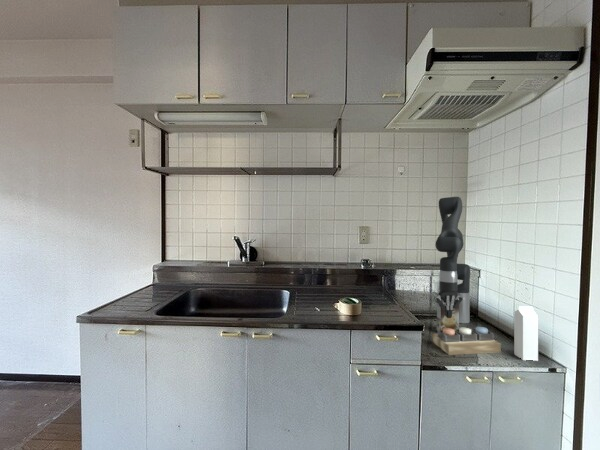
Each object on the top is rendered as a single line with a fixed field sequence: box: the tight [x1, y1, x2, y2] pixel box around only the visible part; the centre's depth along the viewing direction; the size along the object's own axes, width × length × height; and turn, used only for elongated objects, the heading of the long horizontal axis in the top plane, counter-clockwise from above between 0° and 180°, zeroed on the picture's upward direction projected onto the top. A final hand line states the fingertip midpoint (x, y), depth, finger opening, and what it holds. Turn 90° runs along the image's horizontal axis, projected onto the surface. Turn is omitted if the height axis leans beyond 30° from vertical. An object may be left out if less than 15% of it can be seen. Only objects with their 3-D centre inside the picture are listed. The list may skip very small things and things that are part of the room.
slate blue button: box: [474, 326, 489, 334], centre depth 140 cm, size 5×5×2 cm
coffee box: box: [436, 300, 460, 332], centre depth 158 cm, size 9×6×16 cm
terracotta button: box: [443, 328, 455, 335], centre depth 139 cm, size 5×5×2 cm
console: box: [432, 328, 502, 356], centre depth 140 cm, size 14×24×7 cm, turn 94°
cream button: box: [459, 326, 472, 335], centre depth 139 cm, size 5×5×2 cm
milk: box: [513, 305, 539, 362], centre depth 128 cm, size 6×6×22 cm
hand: (448, 317), depth 139 cm, fingers closed
